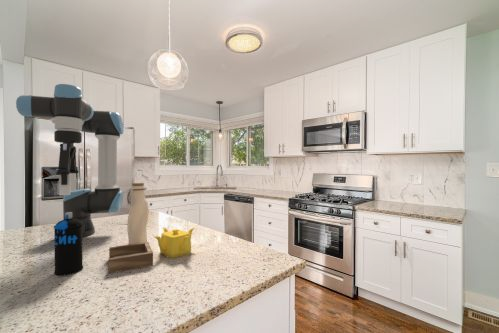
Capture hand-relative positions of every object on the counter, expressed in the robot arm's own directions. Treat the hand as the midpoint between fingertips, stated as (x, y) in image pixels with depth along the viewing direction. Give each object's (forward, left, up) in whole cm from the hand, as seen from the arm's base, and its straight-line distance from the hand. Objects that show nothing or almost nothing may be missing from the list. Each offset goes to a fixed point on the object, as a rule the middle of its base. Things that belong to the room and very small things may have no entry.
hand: (68, 193), depth 83 cm
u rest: (+2, +19, -27) cm, 33 cm away
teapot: (0, +36, -27) cm, 45 cm away
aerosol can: (0, 0, -27) cm, 27 cm away
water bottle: (-20, +23, -27) cm, 41 cm away
